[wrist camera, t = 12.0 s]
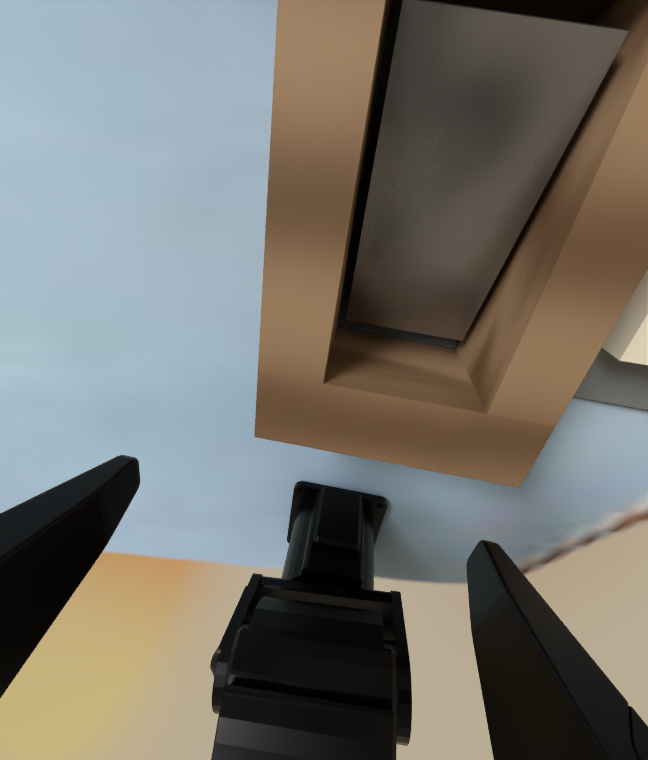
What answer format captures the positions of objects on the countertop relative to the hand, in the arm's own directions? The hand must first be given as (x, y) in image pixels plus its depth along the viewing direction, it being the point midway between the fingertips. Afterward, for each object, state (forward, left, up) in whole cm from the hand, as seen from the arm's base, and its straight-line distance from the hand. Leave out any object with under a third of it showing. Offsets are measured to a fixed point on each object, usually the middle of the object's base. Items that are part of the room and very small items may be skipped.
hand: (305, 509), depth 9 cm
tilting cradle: (+7, -3, -9) cm, 11 cm away
